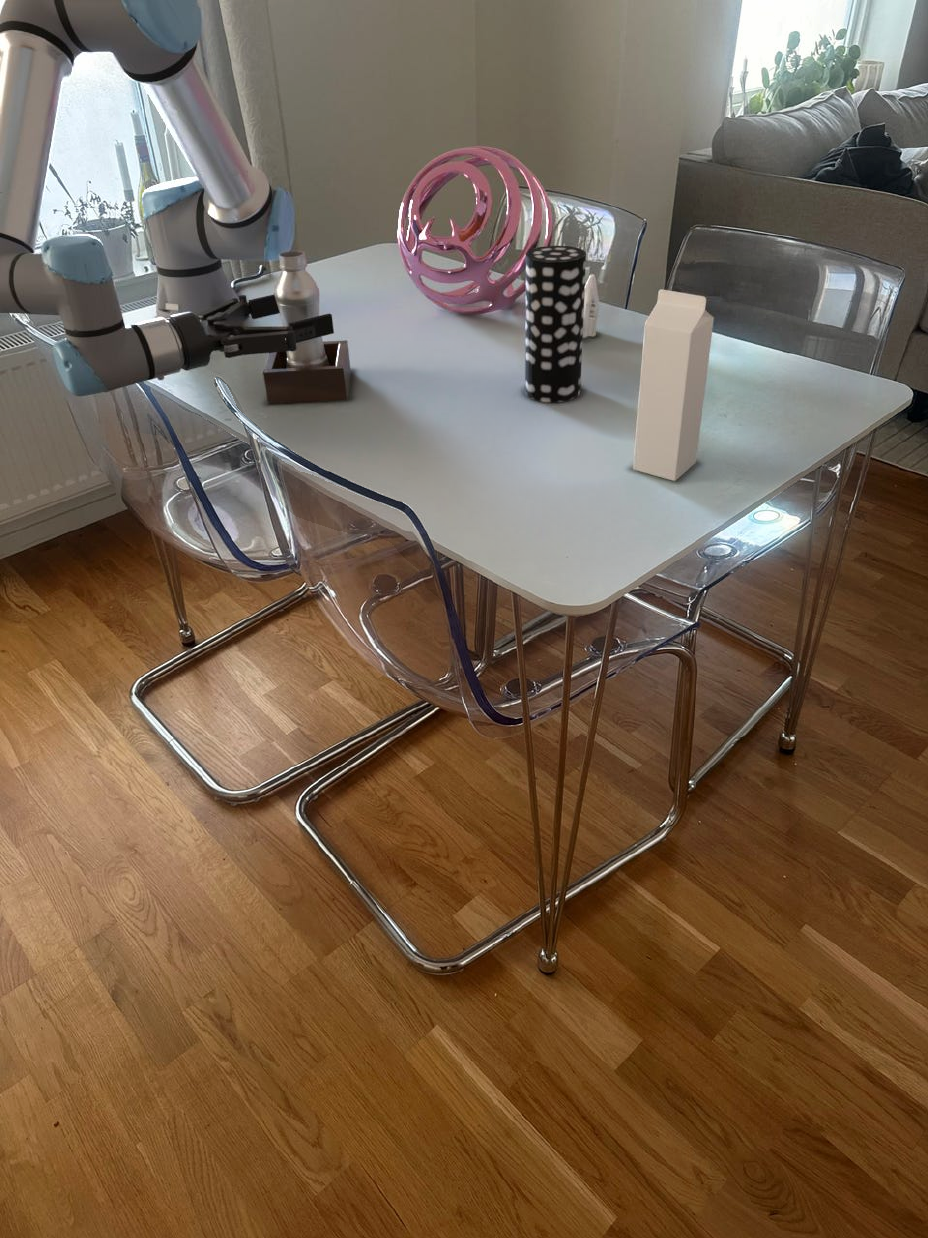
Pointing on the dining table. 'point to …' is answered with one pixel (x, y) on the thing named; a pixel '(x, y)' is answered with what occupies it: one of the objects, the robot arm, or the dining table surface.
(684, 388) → the milk
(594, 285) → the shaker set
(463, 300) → the spiral basket
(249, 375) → the dining table surface
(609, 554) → the dining table surface
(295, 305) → the silver metal bottle
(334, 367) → the box
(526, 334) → the spotted tube
